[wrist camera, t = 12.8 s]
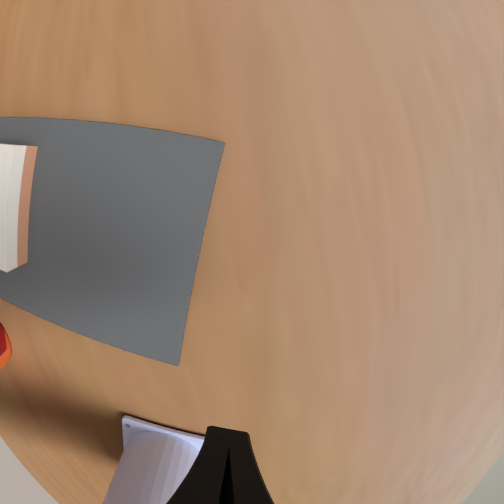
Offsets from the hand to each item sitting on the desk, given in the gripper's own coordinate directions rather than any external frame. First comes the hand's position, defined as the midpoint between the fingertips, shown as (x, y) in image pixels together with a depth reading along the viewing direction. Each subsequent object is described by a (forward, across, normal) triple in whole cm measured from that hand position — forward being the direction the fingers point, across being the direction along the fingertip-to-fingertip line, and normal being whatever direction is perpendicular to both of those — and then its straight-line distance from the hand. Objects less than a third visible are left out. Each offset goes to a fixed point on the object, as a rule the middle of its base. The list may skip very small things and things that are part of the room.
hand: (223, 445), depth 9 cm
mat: (+9, +13, -3) cm, 16 cm away
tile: (+8, +15, -4) cm, 18 cm away
